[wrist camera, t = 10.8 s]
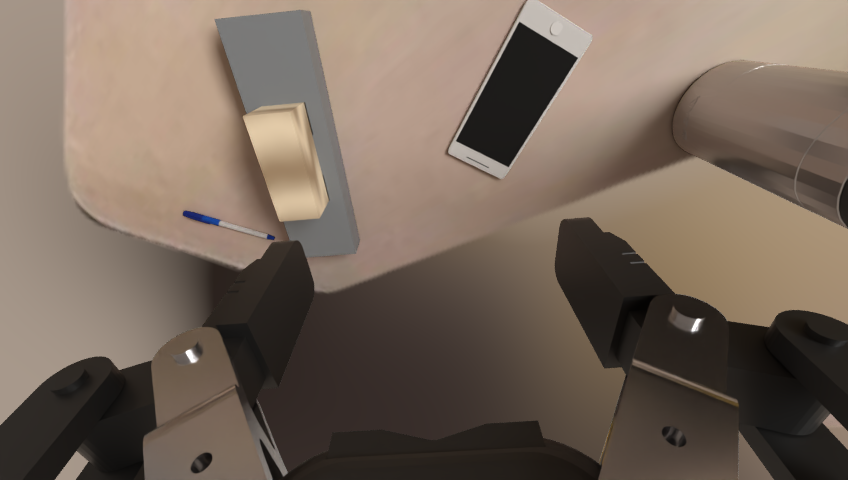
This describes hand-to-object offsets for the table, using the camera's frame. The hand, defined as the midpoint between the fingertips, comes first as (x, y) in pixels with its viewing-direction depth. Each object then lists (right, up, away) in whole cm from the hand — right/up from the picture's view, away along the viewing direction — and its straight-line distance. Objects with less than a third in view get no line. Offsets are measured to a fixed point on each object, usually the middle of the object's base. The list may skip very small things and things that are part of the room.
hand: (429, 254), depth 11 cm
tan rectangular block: (-13, +10, +26) cm, 31 cm away
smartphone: (+9, +15, +25) cm, 30 cm away
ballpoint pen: (-24, +3, +32) cm, 40 cm away
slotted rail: (-13, +10, +26) cm, 31 cm away
